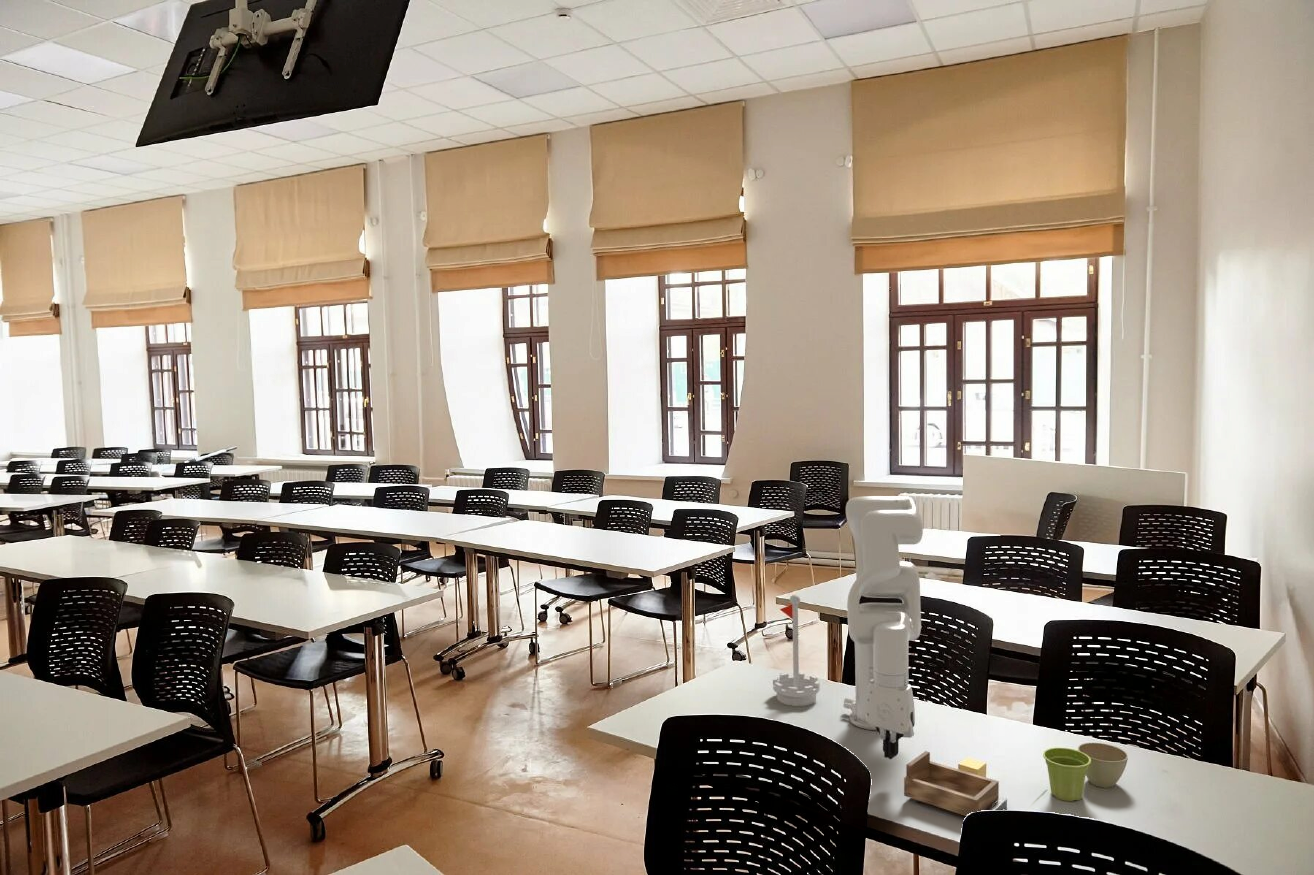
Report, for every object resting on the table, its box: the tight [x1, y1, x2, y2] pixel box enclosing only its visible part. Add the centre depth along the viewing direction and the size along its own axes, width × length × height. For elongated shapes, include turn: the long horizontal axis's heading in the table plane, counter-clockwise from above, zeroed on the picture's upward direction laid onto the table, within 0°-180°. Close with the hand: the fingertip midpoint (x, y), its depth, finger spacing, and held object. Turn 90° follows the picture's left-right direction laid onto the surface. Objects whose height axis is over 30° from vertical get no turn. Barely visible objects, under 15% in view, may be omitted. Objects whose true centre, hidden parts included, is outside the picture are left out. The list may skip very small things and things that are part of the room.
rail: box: [988, 797, 1008, 810], centre depth 197 cm, size 28×11×2 cm, turn 47°
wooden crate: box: [903, 750, 1000, 817], centre depth 194 cm, size 16×11×8 cm
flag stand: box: [772, 593, 821, 707], centre depth 257 cm, size 13×13×30 cm
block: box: [957, 756, 987, 778], centre depth 205 cm, size 4×4×4 cm
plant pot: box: [1042, 747, 1091, 802], centre depth 198 cm, size 9×9×9 cm
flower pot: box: [1077, 742, 1129, 789], centre depth 203 cm, size 10×10×7 cm
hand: (890, 756), depth 205 cm, fingers closed
